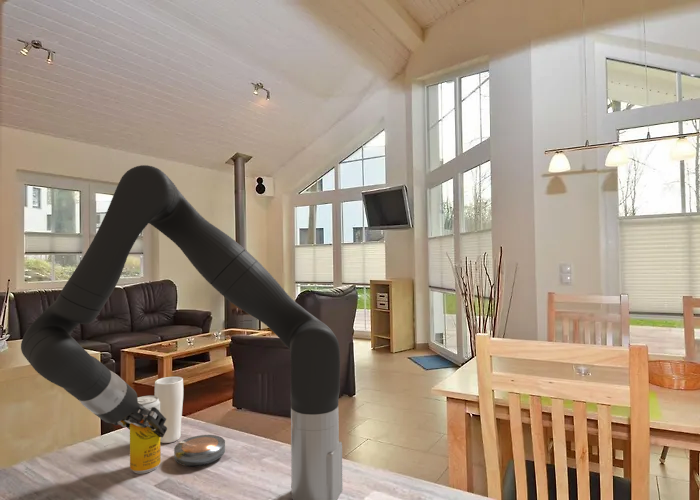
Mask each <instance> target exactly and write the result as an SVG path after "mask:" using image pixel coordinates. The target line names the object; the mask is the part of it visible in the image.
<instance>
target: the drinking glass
mask: <svg viewBox="0 0 700 500" xmlns="http://www.w3.org/2000/svg"><path fill="white" fill-rule="evenodd" d="M154 396H157V397H158V399H159V401H160V413H161V414H162V415H163V416H164V417H165V418H166V421H165V423H164V425H165V426H166V427H167V430H166V433H165V435H164V436H163V437H160V444H161V443H162V444H171V443H174V442H176V441H178V440H179V439H180V438H181V437H182V434H181V433H182V416H183V407H184V406H183V403H184V378H183V377H181V376H167V377H161V378H158V379H157V380H155V381H154Z"/></svg>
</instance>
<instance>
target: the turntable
mask: <svg viewBox="0 0 700 500" xmlns="http://www.w3.org/2000/svg"><path fill="white" fill-rule="evenodd" d="M173 451H174V453H173V455H174V456H173V457H174V461H175V463H178V464H179V465H182V466H186V465H190V466H192V465H202V464H206V463H210V462H212V461H214V462H215V461H216V460H219V459H221V457H223V456H224V455H225V453H226V440H225V439H224V438H223V437H222V436H219V435H214V434H202V435H196V436H191V437H188V438H185V439H183V440H181V441H179V442H178V443H177V444H176V445H175V446H174V449H173ZM212 463H213V462H212ZM210 464H211V463H210ZM190 466H189V467H190Z"/></svg>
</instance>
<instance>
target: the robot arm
mask: <svg viewBox="0 0 700 500" xmlns="http://www.w3.org/2000/svg"><path fill="white" fill-rule="evenodd" d="M148 225H151V226H152V227H154V228H155V229H156V230H158V231H159V232H160V233H162V235H164V236H165V237H166V238H167V239H169V240H170V241H171V242H173V243H174V244H175V246H177V247H178V248H179V249H180V250H181V251H182V253H183V255H184V256H186V258H187V260H188V261H189V262H190V264H191V265H192V266H193V267H194V268H195V269H196V271H197V272H198V273H199V274H200V275H201V277H203V278H204V280H206V281H207V283H209V285H211V286H212V287H213V288H214V289H215V290H216V291H217V292H218V293H220V295H221V296H223V297H224V298H225V299H226V300H228V302H230V303H232V305H234V306H236V307H238V308H239V309H240V310H242V311H243V312H245V313H246V314H248V315H250V316H251V317H253V318H255V319H256V320H258V321H260V322H261V323H263V324H264V325H265V326H267V327H268V328H269V329H270V330H271V331H272V332H273V333H274V334H275V335H276V336H277V337H278V338H279V340H280V341H281V342H282V343H283V344H284V345H285V347H287V349H288V350H289V351H290V453H291V455H290V458H291V459H290V463H291V465H290V470H291V475H290V476H291V478H290V479H291V482H290V483H291V484H290V488H291V500H338V498H339V497H340V495H341V494H342V491H343V443H342V441H341V440H340V439H339V437H340V436H339V435H340V434H339V431H340V430H339V423H340V421H339V419H340V418H339V417H340V416H339V395H340V391H341V349H340V343H339V340H338V338H337V336H336V335H335V332H333V330H332V329H331V328H330V327H329V326H328V325H327V324H326V323H324V322H323V321H321V320H320V319H319V318H317V317H316V316H314V315H313V314H312V313H310V312H309V311H308V310H306V309H305V308H304V307H303V306H301V305H300V304H299V303H297V301H295V300H294V299H293V298H292V297H291V296H290V295H289V294H288V293H287V292H286V291H285V289H284V288H283V287H282V286H281V285H280V283H279V282H278V281H277V280H276V279H275V278H274V276H273V275H272V274H271V273H270V272H269V271H268V270H267V269H266V268H265V267H264V266H263V265H262V264H261V263H260V262H259V260H257V259H256V257H254V255H252V254H251V253H250V252H249V251H247V249H246V248H244V247H243V246H242V245H240V243H238V242H237V241H236V240H235V239H233V238H232V237H231V236H229V234H227V233H225V232H224V231H223V230H221V229H219V228H218V227H216V225H213V223H210V221H208V220H207V219H205V218H204V216H202V214H200V213H199V212H198V210H196V209H195V208H194V206H193V205H192V204H191V203H190V202H189V201H188V200H187V198H186V197H185V196H184V195H183V194H182V192H181V191H180V190H179V189H178V187H177V186H176V184H175V183H174V182H173V181H172V179H171V178H169V176H168V175H167V174H166V173H165V172H164V171H162V170H161V169H159V168H157V167H155V166H152V165H148V164H147V165H146V164H144V165H143V164H142V165H136V166H134V167H131V168H130V169H128V170H127V171H126V172H124V174H123V175H122V176H121V178H120V180H119V182H118V183H117V186H116V188H115V191H114V193H113V196H112V198H111V201H110V202H109V205H108V208H107V210H106V212H105V215H104V217H103V219H102V222H101V223H100V225H99V227H98V229H97V232H96V234H95V235H94V237H93V239H92V241H91V243H90V245H89V246H88V247H87V250H86V251H85V254H84V255H83V257H82V258H81V260H80V262H79V263H78V265H77V266H76V268H75V269H74V271H73V273H72V274H71V275H70V277H69V278H68V280H67V282H66V283H65V285H64V286H63V288H62V290H61V291H60V293H59V294H58V296H57V298H56V299H55V301H54V302H52V303H51V304H50V305H49V306H48V307H47V308H46V309H44V311H43V312H42V313H41V314H39V316H38V317H37V318H36V319H35V320H34V321H32V323H31V324H30V325H29V327H28V328H27V330H26V331H25V332H24V334H23V337H22V339H21V343H20V350H21V354H22V355H23V356H24V358H25V359H26V360H27V362H28V363H29V365H30V366H32V368H33V369H34V370H35V372H36V373H37V374H39V375H40V376H42V378H44V379H45V380H47V381H49V382H50V383H52V384H54V385H56V386H58V387H60V388H62V389H64V391H66V392H67V393H68V394H70V395H71V396H73V397H74V398H75V399H77V400H78V402H80V404H81V405H82V406H84V407H85V409H87V410H88V411H90V412H91V413H92V414H94V415H95V416H97V417H98V418H99V419H101V420H102V421H103V422H105V423H108V424H113V425H114V426H121V427H122V428H126V429H127V430H129V431H130V424H131V423H132V424H134V425H136V426H138V427H140V428H148V429H150V430H151V431H153V432H154V433H155V434H156V435H158V436H159V437H163V436H164V435H165V433H166V430H167V427H166V426H165V425H164V423H165V421H166V418H165V417H164V416H163V415H162V414H161V413H160V412H159V411H158V409H156V408H155V407H152V408H151V410H148V409H146V408H144V407H143V405H141V404H139V403H138V399H137V398H138V393H137V392H136V390H135V389H133V387H131V385H129V384H128V383H127V382H126V381H125V380H124V379H123V378H121V376H119V375H118V374H116V373H115V372H114V371H112V370H110V369H109V368H108V367H107V366H106V365H105V364H103V363H102V362H101V361H100V360H98V359H97V358H96V357H94V356H92V355H91V354H90V353H88V351H87V350H85V348H84V347H82V346H81V345H80V344H79V343H78V341H76V339H75V338H74V337H73V336H72V333H73V331H74V330H75V329H76V328H77V327H78V326H79V324H81V325H87V324H88V325H89V324H91V323H92V322H94V321H96V318H98V316H99V314H100V313H101V312H102V309H103V308H104V306H105V305H106V303H107V302H108V300H109V298H110V297H111V296H112V294H113V292H114V290H115V288H116V287H117V285H118V283H119V281H120V278H121V275H122V273H123V271H124V268H125V265H126V262H127V259H128V257H129V254H130V252H131V250H132V249H133V247H134V245H135V242H136V241H137V240H138V238H139V237H140V235H141V233H142V232H143V231H144V229H146V227H147V226H148ZM144 416H145V419H144V421H143V423H140V422H141V421H142V419H143V417H144ZM149 423H150V424H151V425H152V426H151V425H149ZM339 440H340V441H339Z"/></svg>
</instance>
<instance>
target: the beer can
mask: <svg viewBox="0 0 700 500" xmlns="http://www.w3.org/2000/svg"><path fill="white" fill-rule="evenodd" d="M137 399H138V403H139V404H141V405H143V407H144V408H146V409H148V410H151V408H152V407H155V408H156V409H158V411H159V412H160V401H159V399H158V397H157V396H155V395H143V396H139V397H138V396H137ZM144 419H145V416H144V417H143V419H142V421H141V422H140V423H143V421H144ZM149 425H151V424H150V423H149ZM151 426H152V425H151ZM161 448H162V447H161V442H160V437H159V436H158V435H156V434H155V433H154V432H153V431H151V430H150V429H148V428H140V427H138V426H136V425H134V424H132V423H131V424H130V430H129V468H130V470H131V471H132V472H133V473H135V474H141V475H142V474H146V473H150V472H153V471H155V470H157V468H158V466H159V465H160V464H161V457H162V456H161V452H162V451H161V450H162V449H161Z"/></svg>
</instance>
